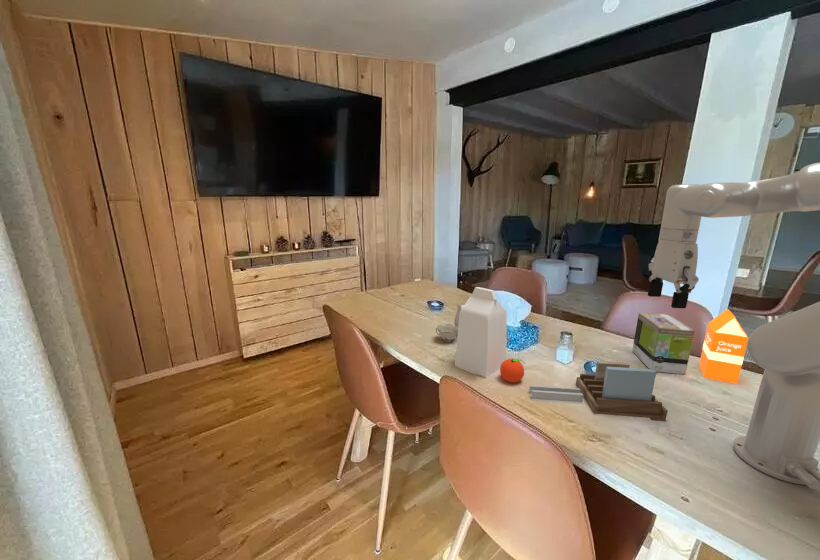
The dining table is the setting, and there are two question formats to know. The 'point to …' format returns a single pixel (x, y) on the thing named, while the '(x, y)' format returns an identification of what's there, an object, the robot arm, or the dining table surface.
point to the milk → (481, 334)
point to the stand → (556, 394)
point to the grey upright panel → (628, 383)
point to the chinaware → (452, 328)
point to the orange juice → (723, 348)
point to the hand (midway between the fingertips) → (665, 301)
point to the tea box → (663, 342)
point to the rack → (593, 395)
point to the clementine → (512, 370)
